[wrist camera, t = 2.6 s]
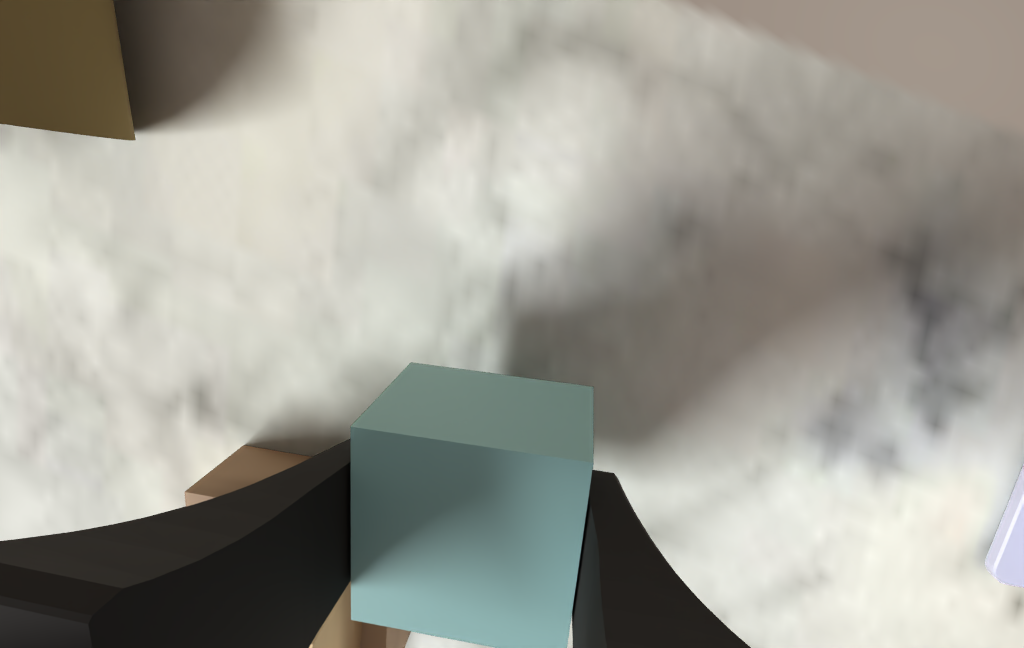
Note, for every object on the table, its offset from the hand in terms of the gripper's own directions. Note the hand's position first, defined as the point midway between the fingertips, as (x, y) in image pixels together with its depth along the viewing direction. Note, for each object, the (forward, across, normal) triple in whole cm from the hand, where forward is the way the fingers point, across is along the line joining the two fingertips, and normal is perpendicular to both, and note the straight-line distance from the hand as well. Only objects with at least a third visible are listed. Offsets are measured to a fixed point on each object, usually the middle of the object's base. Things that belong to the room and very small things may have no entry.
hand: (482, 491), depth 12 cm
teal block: (+2, 0, 0) cm, 2 cm away
